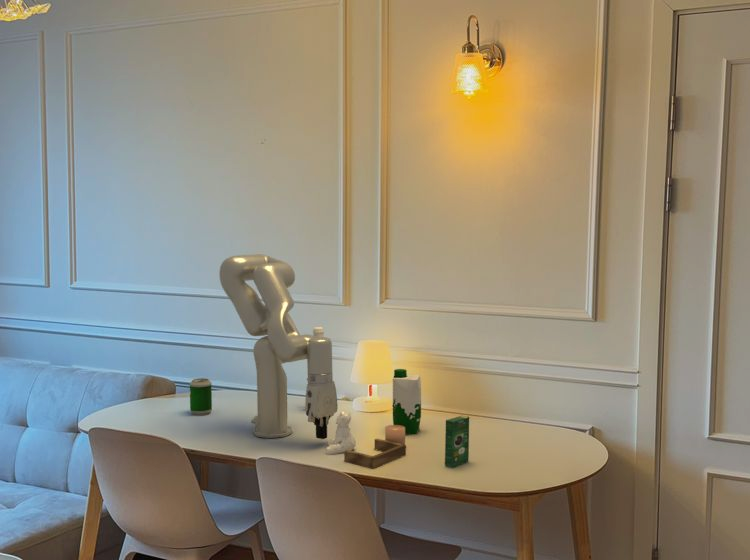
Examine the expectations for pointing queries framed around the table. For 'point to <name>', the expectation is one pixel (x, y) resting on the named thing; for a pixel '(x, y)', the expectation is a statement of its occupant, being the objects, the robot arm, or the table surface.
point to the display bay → (390, 454)
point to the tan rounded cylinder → (395, 434)
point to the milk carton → (406, 400)
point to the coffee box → (457, 441)
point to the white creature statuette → (341, 436)
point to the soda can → (200, 396)
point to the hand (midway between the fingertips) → (321, 437)
